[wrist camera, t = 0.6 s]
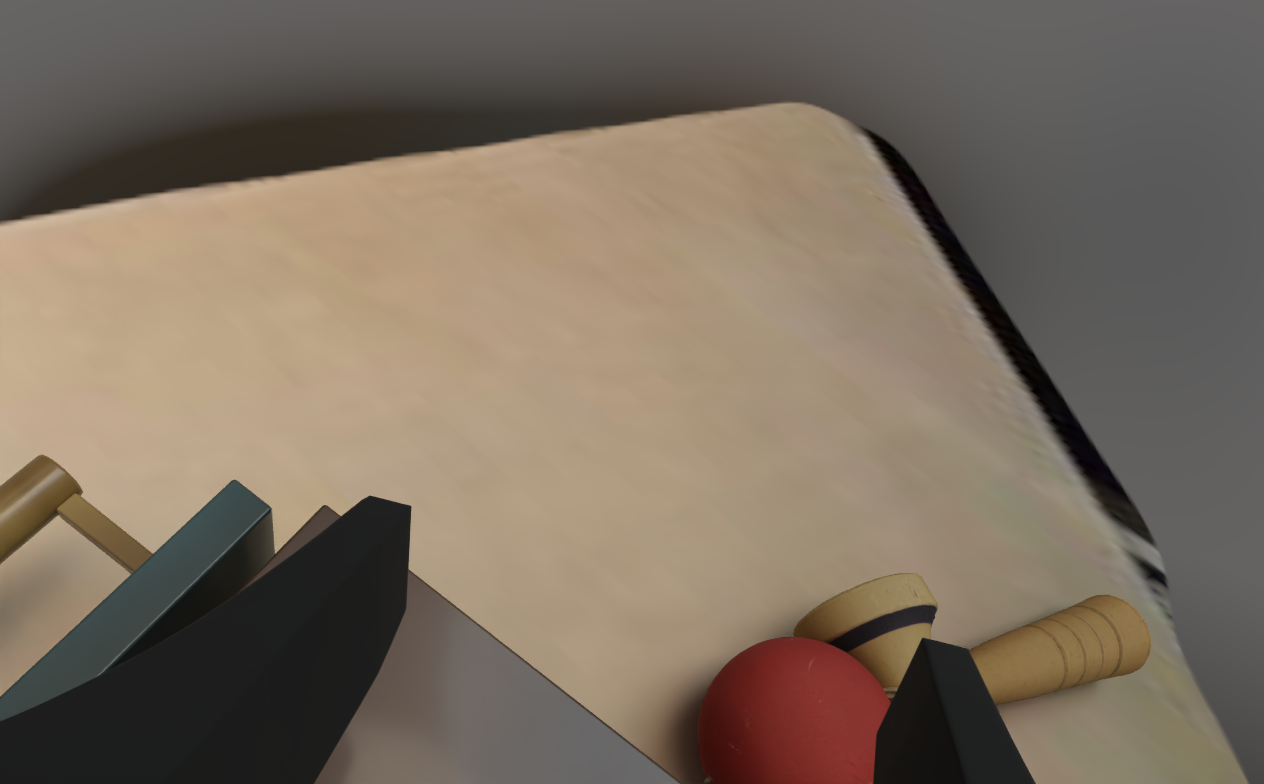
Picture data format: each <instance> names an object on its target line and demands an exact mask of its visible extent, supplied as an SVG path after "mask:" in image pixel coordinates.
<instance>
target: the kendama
mask: <svg viewBox="0 0 1264 784" xmlns="http://www.w3.org/2000/svg"><path fill="white" fill-rule="evenodd" d="M937 609H938V606H937V602H936V600H935V599H934V597H933V595H932V594H931V592H930V590H929V588H928V587H927V585H926V583H925V581H924V580H923V579H922V577H921V576H920V575H918V574H913V573H899V574H894V575H889V576H885V577H881V578H878V579H874V580H872V581H869V582H865V583H863V584H861V585H858V586H856V587H854V588H852V589H850V590H847V591H844V592H842V593H840V594H838V595H836V596H834V597H832V598H831V599H829V600H827V601H825V602H824V603H822V604H820V605H819V606H817V607H816V608H814V609H813V610H812V611H810V612H809V613H808V614H807V615H806V616H805V617H803V618H802V619H801V620H800V621H799V623H798V624H797V626H796V627H795V629H794V632H793V634H794V637H782V638H776V639H771V640H767V641H764V642H761V643H758V644H756V645H754V646H752V647H750V648H748V649H746V650H744V651H743V652H741V653H740V654H738V655H737V656H735V657H734V658H733V659H732V660H730V661H729V662H728V663H727V664H726V665H725V666H724V667H723V668H722V670H721V671H720V672H719V673H718V675H717V676H716V677H715V679H714V680H713V682H712V684H711V685H710V687H709V689H708V691H707V693H706V695H705V697H704V700H703V702H702V705H701V709H700V714H699V722H698V749H699V755H700V760H701V764H702V768H703V771H704V774H705V777H706V779H705V780H704V783H705V784H873V778H874V762H875V747H876V733H877V731H878V729H879V727H880V725H881V723H882V721H883V719H884V716H885V714H886V712H887V710H888V708H889V706H890V704H891V702H892V700H893V698H894V696H895V693H896V691H897V689H898V687H899V685H900V683H901V681H902V679H903V677H904V675H905V673H906V670H907V668H908V666H909V664H910V662H911V660H912V658H913V656H914V654H915V652H916V650H917V648H918V645H919V643H920V641H921V639H922V637H923V638H927V639H930V633H931V627H932V623H933V620H934V619H935V613H936V611H937ZM1150 648H1151V644H1150V634H1149V631H1148V628H1147V625H1146V623H1145V622H1144V620H1143V618H1142V617H1141V615H1140V614H1139V613H1138V612H1137V610H1136V609H1135V608H1133V607H1132V606H1131V605H1130V604H1129V603H1127V602H1125V601H1123V600H1121V599H1119V598H1117V597H1114V596H1109V595H1097V596H1094V597H1091V598H1088V599H1086V600H1084V601H1082V602H1080V603H1078V604H1076V605H1074V606H1071V607H1069V608H1068V609H1065V610H1062V611H1060V612H1058V613H1056V614H1053V615H1051V616H1048V617H1046V618H1043V619H1041V620H1039V621H1036V622H1033V623H1031V624H1028V625H1025V626H1023V627H1021V628H1018V629H1015V630H1013V631H1010V632H1008V633H1005V634H1003V635H1001V636H998V637H996V638H994V639H991V640H989V641H987V642H985V643H983V644H981V645H979V646H977V647H975V648H973V649H971V650H969V652H970V654H971V656H972V657H973V659H974V662H975V664H976V666H977V668H978V670H979V672H980V674H981V676H982V678H983V680H984V682H985V685H986V687H987V689H988V691H989V693H990V695H991V697H992V699H993V701H994V703H995V705H997V704H1003V703H1008V702H1014V701H1018V700H1023V699H1027V698H1031V697H1036V696H1039V695H1044V694H1047V693H1050V692H1054V691H1058V690H1062V689H1066V688H1069V687H1074V686H1077V685H1082V684H1085V683H1090V682H1093V681H1098V680H1101V679H1106V678H1111V677H1116V676H1122V675H1126V674H1130V673H1133V672H1135V671H1137V670H1138V669H1140V668H1141V667H1142V666H1143V665H1144V664H1145V661H1146V660H1147V658H1148V656H1149V653H1150Z"/></svg>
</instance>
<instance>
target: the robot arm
mask: <svg viewBox="0 0 1264 784" xmlns="http://www.w3.org/2000/svg"><path fill="white" fill-rule="evenodd" d="M410 523H411V506H409V505H405V504H401V503H397V502H393V501H389V500H385V499H381V498H378V497H374V496H368V497H367V498H365V499H363V500H361V501H360V502H359V503H358V504H356V505H355V506H354V507H353V508H351V509H350V510H349V511H348V512H346V513H345V514H344V515H343V516H341V517H340V518H339V519H337V520H336V521H335V522H334V523H332V524H331V525H330V526H329V527H327V528H326V529H325V530H323V531H322V532H321V533H320V534H318V535H317V536H316V537H314V538H313V539H312V540H311V541H309V542H308V543H307V544H305V545H304V546H303V547H301V548H300V549H299V550H297V551H296V552H295V553H293V554H292V555H291V556H289V557H288V558H287V559H285V560H284V561H282V562H281V563H280V564H278V565H277V566H276V567H274V568H273V569H271V570H270V571H269V572H267V573H266V574H264V575H263V576H262V577H260V578H259V579H258V580H256V581H255V582H253V583H252V584H251V585H249V586H248V587H246V588H245V589H243V590H242V591H240V592H239V593H237V594H236V595H234V596H233V597H231V598H230V599H228V600H227V601H225V602H224V603H222V604H221V605H219V606H218V607H216V608H214V609H213V610H211V611H210V612H208V613H207V614H205V615H204V616H202V617H201V618H199V619H198V620H196V621H195V622H193V623H191V624H190V625H188V626H187V627H185V628H183V629H182V630H180V631H178V632H177V633H175V634H173V635H172V636H170V637H168V638H167V639H165V640H163V641H162V642H160V643H158V644H156V645H155V646H153V647H151V648H149V649H148V650H146V651H144V652H142V653H140V654H139V655H137V656H135V657H133V658H131V659H130V660H128V661H126V662H124V663H122V664H120V665H119V666H117V667H115V668H113V669H111V670H109V671H107V672H105V673H103V674H101V675H99V676H97V677H95V678H93V679H91V680H89V681H87V682H85V683H83V684H81V685H79V686H77V687H75V688H73V689H71V690H69V691H67V692H65V693H63V694H61V695H58V696H56V697H54V698H52V699H50V700H48V701H46V702H44V703H42V704H39V705H37V706H35V707H33V708H30V709H28V710H26V711H24V712H21V713H19V714H16V715H14V716H12V717H9V718H7V719H4V720H2V721H0V784H314V783H315V781H316V780H317V778H318V776H319V774H320V773H321V771H322V769H323V768H324V766H325V764H326V763H327V761H328V759H329V757H330V756H331V754H332V752H333V751H334V749H335V747H336V746H337V744H338V742H339V740H340V739H341V737H342V735H343V734H344V732H345V730H346V729H347V727H348V725H349V723H350V722H351V720H352V718H353V717H354V715H355V713H356V711H357V710H358V708H359V706H360V705H361V703H362V701H363V699H364V698H365V696H366V694H367V692H368V691H369V689H370V687H371V685H372V684H373V682H374V680H375V678H376V677H377V675H378V673H379V671H380V669H381V666H382V664H383V662H384V660H385V657H386V655H387V653H388V651H389V649H390V646H391V644H392V642H393V639H394V637H395V635H396V632H397V630H398V628H399V625H400V623H401V620H402V618H403V616H404V613H405V611H406V605H407V585H408V564H409V544H410ZM873 784H1036V783H1035V782H1034V780H1033V778H1032V776H1031V774H1030V772H1029V770H1028V769H1027V767H1026V765H1025V763H1024V761H1023V759H1022V757H1021V755H1020V753H1019V751H1018V750H1017V748H1016V746H1015V744H1014V742H1013V740H1012V738H1011V736H1010V734H1009V732H1008V730H1007V728H1006V726H1005V724H1004V722H1003V720H1002V718H1001V716H1000V714H999V712H998V709H997V707H996V705H995V703H994V701H993V699H992V697H991V695H990V693H989V691H988V689H987V687H986V685H985V682H984V680H983V678H982V676H981V674H980V672H979V670H978V668H977V666H976V664H975V662H974V659H973V657H972V656H971V654H970V652H969V651H968V649H966V648H962V647H958V646H954V645H950V644H946V643H942V642H939V641H935V640H931V639H927V638H923V637H922V639H921V641H920V643H919V645H918V648H917V650H916V652H915V654H914V656H913V658H912V660H911V662H910V664H909V666H908V668H907V670H906V673H905V675H904V677H903V679H902V681H901V683H900V685H899V687H898V689H897V691H896V693H895V696H894V698H893V700H892V702H891V704H890V706H889V708H888V710H887V712H886V714H885V716H884V719H883V721H882V723H881V725H880V727H879V729H878V731H877V733H876V747H875V762H874V778H873Z"/></svg>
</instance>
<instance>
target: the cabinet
mask: <svg viewBox="0 0 1264 784" xmlns="http://www.w3.org/2000/svg"><path fill="white" fill-rule="evenodd" d="M340 517H341V516H340V515H338V514H337V513H336V512H335V511H333V510H332V509H331V508H329V507H328V506H326V505H324V506H322V507H321V508H320V509H319V510H318V511H317V512H316V513H315V514H314V515H313V516H312V517H311V518H310V519H309V520H308V521H307V522H306V523H305V524H304V525H303V526H302V527H301V528H300V529H299V531H298V532H297V533H296V534H295V535H294V536H293V537H292V538H291V539H290V540H289V541H288V542H287V543H286V544H285V545H284V546H283V547H282V548H281V549H280V550H279V551H278V552H277V553H276V554H275V555H274V556H273V557H272V558H271V559H270V560H269V561H268V562H267V563H266V564H265V565H264V566H263V567H262V568H261V569H260V570H259V571H258V572H257V573H256V574H255V575H254V576H253V577H252V578H251V579H250V580H249V581H248V583H247V584H246V585H245V586H244V587H243V588H242V589H241V590H240V591H242V590H243V589H245V588H246V587H248V586H249V585H251V584H252V583H253V582H255V581H256V580H258V579H259V578H260V577H262V576H263V575H264V574H266V573H267V572H269V571H270V570H271V569H273V568H274V567H276V566H277V565H278V564H280V563H281V562H282V561H284V560H285V559H287V558H288V557H289V556H291V555H292V554H293V553H295V552H296V551H297V550H299V549H300V548H301V547H303V546H304V545H305V544H307V543H308V542H309V541H311V540H312V539H313V538H314V537H316V536H317V535H318V534H320V533H321V532H322V531H323V530H325V529H326V528H327V527H329V526H330V525H331V524H332V523H334V522H335V521H336V520H337V519H339V518H340ZM240 591H239V592H240ZM239 592H238V593H239ZM314 784H682V783H681V782H680V781H678V780H677V779H676V778H675V777H673V776H672V775H671V774H670V773H668V772H667V771H666V770H664V769H663V768H662V767H661V766H659V765H658V764H657V763H655V762H654V761H653V760H652V759H650V758H649V757H648V756H647V755H645V754H644V753H643V752H641V751H640V750H639V749H638V748H636V747H635V746H634V745H632V744H631V743H630V742H629V741H627V740H626V739H625V738H624V737H622V736H621V735H620V734H618V733H617V732H616V731H615V730H613V729H612V728H611V727H609V726H608V725H607V724H606V723H604V722H603V721H602V720H600V719H599V718H598V717H597V716H595V715H594V714H593V713H592V712H590V711H589V710H588V709H586V708H585V707H584V706H583V705H581V704H580V703H579V702H577V701H576V700H575V699H574V698H572V697H571V696H570V695H569V694H567V693H566V692H565V691H563V690H562V689H561V688H560V687H558V686H557V685H556V684H554V683H553V682H552V681H551V680H549V679H548V678H547V677H546V676H544V675H543V674H542V673H540V672H539V671H538V670H537V669H535V668H534V667H533V666H531V665H530V664H529V663H528V662H526V661H525V660H524V659H523V658H521V657H520V656H519V655H517V654H516V653H515V652H514V651H512V650H511V649H510V648H508V647H507V646H506V645H505V644H503V643H502V642H501V641H499V640H498V639H497V638H496V637H494V636H493V635H492V634H491V633H489V632H488V631H487V630H485V629H484V628H483V627H482V626H480V625H479V624H478V623H476V622H475V621H474V620H473V619H471V618H470V617H469V616H468V615H466V614H465V613H464V612H462V611H461V610H460V609H459V608H457V607H456V606H455V605H453V604H452V603H451V602H450V601H448V600H447V599H446V598H445V597H443V596H442V595H441V594H439V593H438V592H437V591H436V590H434V589H433V588H432V587H430V586H429V585H428V584H427V583H425V582H424V581H423V580H422V579H420V578H419V577H418V576H416V575H415V574H414V573H413V572H411V571H410V570H409V569H408V585H407V605H406V611H405V613H404V616H403V618H402V620H401V623H400V625H399V628H398V630H397V632H396V635H395V637H394V639H393V642H392V644H391V646H390V649H389V651H388V653H387V655H386V657H385V660H384V662H383V664H382V666H381V669H380V671H379V673H378V675H377V677H376V678H375V680H374V682H373V684H372V685H371V687H370V689H369V691H368V692H367V694H366V696H365V698H364V699H363V701H362V703H361V705H360V706H359V708H358V710H357V711H356V713H355V715H354V717H353V718H352V720H351V722H350V723H349V725H348V727H347V729H346V730H345V732H344V734H343V735H342V737H341V739H340V740H339V742H338V744H337V746H336V747H335V749H334V751H333V752H332V754H331V756H330V757H329V759H328V761H327V763H326V764H325V766H324V768H323V769H322V771H321V773H320V774H319V776H318V778H317V780H316V781H315V783H314Z"/></svg>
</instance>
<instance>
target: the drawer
mask: <svg viewBox="0 0 1264 784" xmlns="http://www.w3.org/2000/svg"><path fill="white" fill-rule="evenodd" d="M82 493H83V491H82V489H81V487H80V485H79V484H78V483H77V481H76V480H75V479H74V478H73V477H72V476H71V475H70V474H69V473H68V472H67V471H66V470H65V469H63V468H62V467H61V466H60V465H59V464H57V463H56V462H55V461H53V460H52V459H50V458H49V457H47V456H44V455H39V456H37V457H36V458H35V459H33V460H32V461H31V462H30V463H28V464H27V465H26V466H25V467H24V468H22V469H21V470H20V471H19V472H17V473H16V474H15V475H14V476H12V477H11V478H10V479H9V480H7V481H6V482H5V483H4V484H2V485H1V486H0V564H1V563H2V562H3V561H5V560H6V559H7V558H8V557H9V556H11V555H12V554H13V553H14V552H15V551H16V550H18V549H19V548H20V547H21V546H22V545H23V544H25V543H26V542H27V541H28V540H29V539H31V538H32V537H33V536H34V535H35V534H36V533H38V532H39V531H40V530H41V529H42V528H43V527H45V526H46V525H47V524H48V523H49V522H51V521H52V520H53V519H54V518H55V517H56V516H58V515H60V517H61V518H62V519H63V520H64V521H66V522H67V523H68V524H69V525H71V526H72V527H73V528H74V529H76V530H77V531H78V532H79V533H81V534H82V535H83V536H84V537H86V538H87V539H88V540H89V541H91V542H92V543H93V544H94V545H96V546H97V547H98V548H100V549H101V550H102V551H103V552H105V553H106V554H107V555H108V556H110V557H111V558H112V559H113V560H115V561H116V562H117V563H118V564H120V565H121V566H122V567H123V568H125V569H126V570H127V571H128V572H130V573H131V575H130V576H129V577H128V578H127V579H126V580H125V581H124V582H123V583H122V584H121V585H120V586H118V587H117V588H116V589H115V590H114V591H113V592H112V593H111V594H110V595H109V596H108V597H107V598H106V599H105V600H103V601H102V602H101V603H100V604H99V605H98V606H97V607H96V608H95V609H94V610H93V611H92V612H91V613H90V614H88V615H87V616H86V617H85V618H84V619H83V620H82V621H81V622H80V623H79V624H78V625H77V626H76V627H75V628H73V629H72V630H71V631H70V632H69V633H68V634H67V635H66V636H65V637H64V638H63V639H62V640H61V641H60V642H58V643H57V644H56V645H55V646H54V647H53V648H52V649H51V650H50V651H49V652H48V653H47V654H46V655H45V656H43V657H42V658H41V659H40V660H39V661H38V662H37V663H36V664H35V665H34V666H33V667H32V668H31V669H29V670H28V671H27V672H26V673H25V674H24V675H23V676H22V677H21V678H20V679H19V680H18V681H17V682H16V683H14V684H13V685H12V686H11V687H10V688H9V689H8V690H7V691H6V692H5V693H4V694H3V695H2V696H1V697H0V721H2V720H4V719H7V718H9V717H12V716H14V715H16V714H19V713H21V712H24V711H26V710H28V709H30V708H33V707H35V706H37V705H39V704H42V703H44V702H46V701H48V700H50V699H52V698H54V697H56V696H58V695H61V694H63V693H65V692H67V691H69V690H71V689H73V688H75V687H77V686H79V685H81V684H83V683H85V682H87V681H89V680H91V679H93V678H95V677H97V676H99V675H101V674H103V673H105V672H107V671H109V670H111V669H113V668H115V667H117V666H119V665H120V664H122V663H124V662H126V661H128V660H130V659H131V658H133V657H135V656H137V655H139V654H140V653H142V652H144V651H146V650H148V649H149V648H151V647H153V646H155V645H156V644H158V643H160V642H162V641H163V640H165V639H167V638H168V637H170V636H172V635H173V634H175V633H177V632H178V631H180V630H182V629H183V628H185V627H187V626H188V625H190V624H191V623H193V622H195V621H196V620H198V619H199V618H201V617H202V616H204V615H205V614H207V613H208V612H210V611H211V610H213V609H214V608H216V607H218V606H219V605H221V604H222V603H224V602H225V601H227V600H228V599H230V598H231V597H233V596H234V595H236V594H237V593H238V592H239V591H240V590H241V589H242V588H243V587H244V586H245V585H246V584H247V583H248V581H249V580H250V579H251V578H252V577H253V576H254V575H255V574H256V573H257V572H258V571H259V570H260V569H261V568H262V567H263V566H264V565H265V564H266V563H267V562H268V561H269V560H270V559H271V558H272V557H273V556H274V555H275V549H274V534H273V519H272V509H271V507H270V506H269V505H268V504H266V503H265V502H264V501H262V500H261V499H260V498H259V497H257V496H256V495H255V494H254V493H252V492H251V491H250V490H248V489H247V488H246V487H245V486H243V485H242V484H241V483H240V482H238V481H237V480H232V481H231V482H230V483H229V484H228V485H227V486H226V487H225V488H223V489H222V490H221V491H220V492H219V493H218V494H217V495H216V496H215V497H214V498H213V499H212V500H211V501H210V502H208V503H207V504H206V505H205V506H204V507H203V508H202V509H201V510H200V511H199V512H198V513H197V514H196V515H195V516H193V517H192V518H191V519H190V520H189V521H188V522H187V523H186V524H185V525H184V526H183V527H182V528H181V529H180V530H178V531H177V532H176V533H175V534H174V535H173V536H172V537H171V538H170V539H169V540H168V541H167V542H166V543H165V544H163V545H162V546H161V547H160V548H159V549H158V550H157V551H156V552H155V553H154V554H152V553H151V552H150V551H149V550H147V549H146V548H145V547H144V546H142V545H141V544H140V543H139V542H137V541H136V540H135V539H134V538H132V537H131V536H130V535H129V534H127V533H126V532H125V531H123V530H122V529H121V528H120V527H118V526H117V525H116V524H115V523H113V522H112V521H111V520H110V519H108V518H107V517H106V516H105V515H103V514H102V513H101V512H100V511H98V510H97V509H96V508H95V507H93V506H92V505H91V504H90V503H88V502H87V501H86V500H85V499H83V498H82V497H81V495H82Z"/></svg>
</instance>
